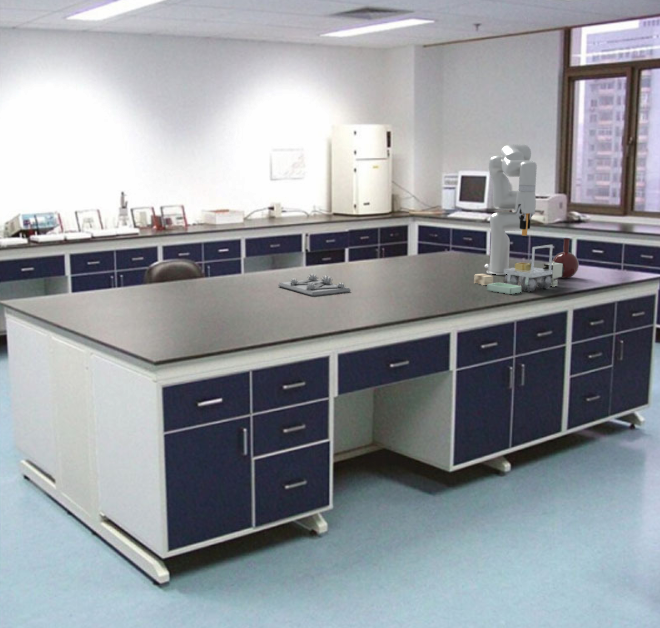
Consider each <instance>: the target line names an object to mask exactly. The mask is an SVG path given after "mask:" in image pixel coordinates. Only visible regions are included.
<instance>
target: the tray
mask: <svg viewBox="0 0 660 628" xmlns="http://www.w3.org/2000/svg"><path fill="white" fill-rule="evenodd" d="M522 290H523V288H522V286H521V285H511V284H505V283H504V282H499V281H498V282H493V283H492V284H487V286H486V291H487V292H491V291H493V293H497V292H499V293H498V294H503V293H505V295H509V294H512V295H516V294H515V293H517V294H521V293H522ZM520 292H521V293H520Z"/></svg>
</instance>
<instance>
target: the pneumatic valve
mask: <svg viewBox="0 0 660 628" xmlns="http://www.w3.org/2000/svg"><path fill="white" fill-rule="evenodd" d="M542 269H549V263H544V264H543V267H542ZM551 270H553V273H552V274H551V275H549V276H550V277H551V280H552V283H551V286H552V287H551V288H556V287H555V286H557V287H558V282H559V281H558V278H560V277H562V276H563V272H564V267H563V264H562V263H555V262H554V261H553V263H552V265H551Z"/></svg>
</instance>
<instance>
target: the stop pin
mask: <svg viewBox="0 0 660 628" xmlns="http://www.w3.org/2000/svg"><path fill="white" fill-rule="evenodd" d="M522 214H523V213H522ZM528 214H529V213H528ZM528 214H526V220H525V221H526V229H522V230H521V236H525V237H526V236H528V229H527V228H528ZM523 216H524V215H523Z"/></svg>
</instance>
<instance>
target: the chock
mask: <svg viewBox="0 0 660 628" xmlns="http://www.w3.org/2000/svg"><path fill="white" fill-rule="evenodd" d="M475 283H478V284H477V285H479V284H481V285H480V286H483V285H487V284H492V283H494V276H493V275H491V274H487V273H476V274H474V275H473V284H475Z"/></svg>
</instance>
